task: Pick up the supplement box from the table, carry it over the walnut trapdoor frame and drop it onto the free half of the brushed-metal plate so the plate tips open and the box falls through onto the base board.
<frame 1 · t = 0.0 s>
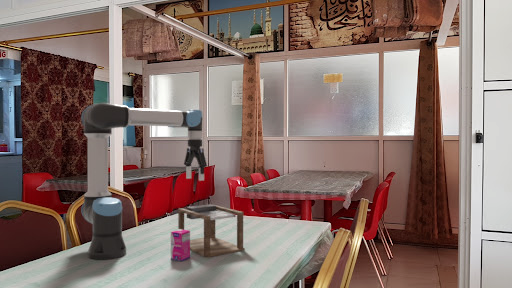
hand: (194, 179, 208), 28 cm above the table, fingers open, 13 cm apart
trapdoor: (210, 214, 180), point 15 cm above the table, hinge at 0.0°
supplement box: (180, 259, 162), on the table
frame: (205, 245, 183), on the table
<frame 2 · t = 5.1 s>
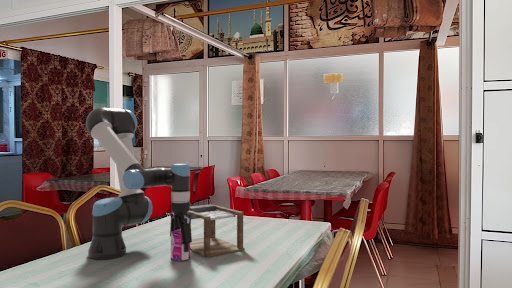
hand: (180, 257, 162), 1 cm above the table, fingers closed on supplement box, 7 cm apart
supplement box: (180, 259, 162), on the table, touching gripper
everything else where it was.
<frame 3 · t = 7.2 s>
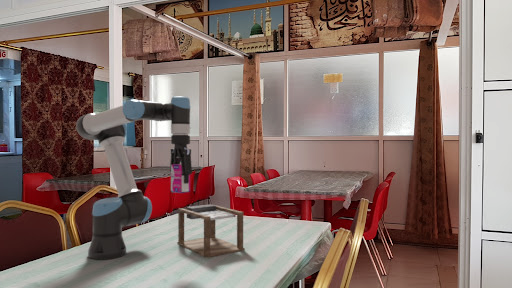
hand: (180, 190, 162), 28 cm above the table, fingers closed on supplement box, 7 cm apart
supplement box: (180, 192, 162), point 27 cm above the table, touching gripper
everything else where it was.
when the fingers open (19 cm above the table, at t = 9.7 s): supplement box drops 4 cm, resting on trapdoor.
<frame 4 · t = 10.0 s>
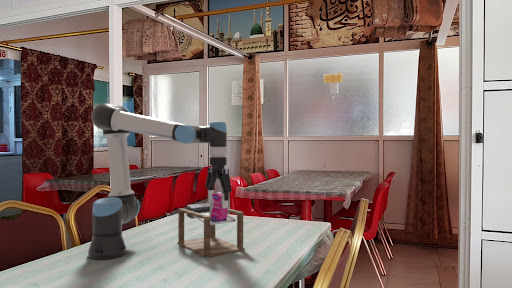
hand: (218, 206, 175), 19 cm above the table, fingers open, 11 cm apart
trapdoor: (210, 215, 180), point 14 cm above the table, hinge at -8.8°, touching supplement box
supplement box: (217, 219, 174), point 14 cm above the table, touching trapdoor
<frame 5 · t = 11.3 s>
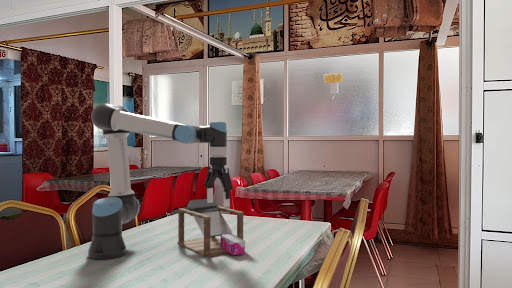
hand: (218, 204, 175), 20 cm above the table, fingers open, 13 cm apart
trapdoor: (209, 218, 181), point 13 cm above the table, hinge at -35.8°
supplement box: (224, 240, 176), point 4 cm above the table, touching frame
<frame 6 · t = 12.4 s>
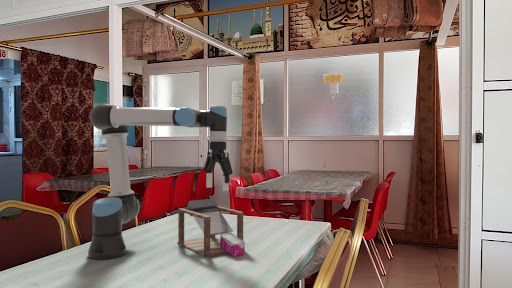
hand: (217, 189, 175), 27 cm above the table, fingers open, 13 cm apart
trapdoor: (209, 218, 180), point 13 cm above the table, hinge at -31.9°
supplement box: (224, 239, 175), point 4 cm above the table, touching frame
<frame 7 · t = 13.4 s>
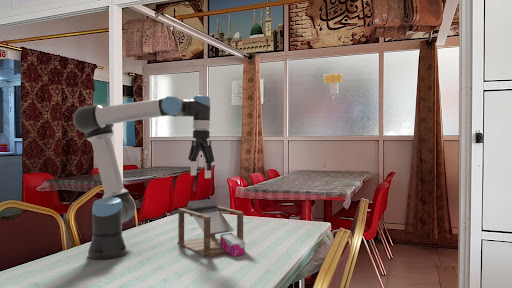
hand: (200, 176, 180), 32 cm above the table, fingers open, 13 cm apart
trapdoor: (209, 217, 180), point 13 cm above the table, hinge at -29.5°
everything else where it was.
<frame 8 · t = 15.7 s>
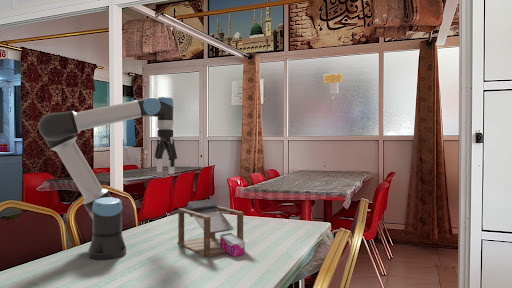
hand: (165, 172, 192), 33 cm above the table, fingers open, 13 cm apart
trapdoor: (209, 217, 180), point 13 cm above the table, hinge at -26.6°
everything else where it was.
at the end: supplement box point 4.5 cm above the table; supplement box inside the target area on the frame (8.3 cm from its centre), point 4.5 cm above the frame's base; the gripper is holding nothing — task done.
